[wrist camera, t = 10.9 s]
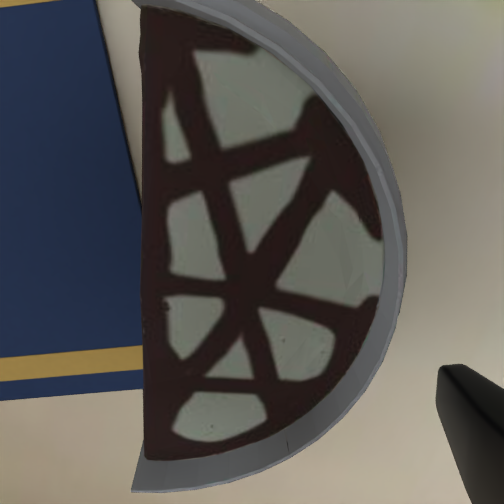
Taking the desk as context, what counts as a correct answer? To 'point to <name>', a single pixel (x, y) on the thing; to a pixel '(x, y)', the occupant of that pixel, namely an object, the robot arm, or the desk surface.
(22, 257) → the book
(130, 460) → the desk surface
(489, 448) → the robot arm
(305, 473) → the desk surface
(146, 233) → the food container
